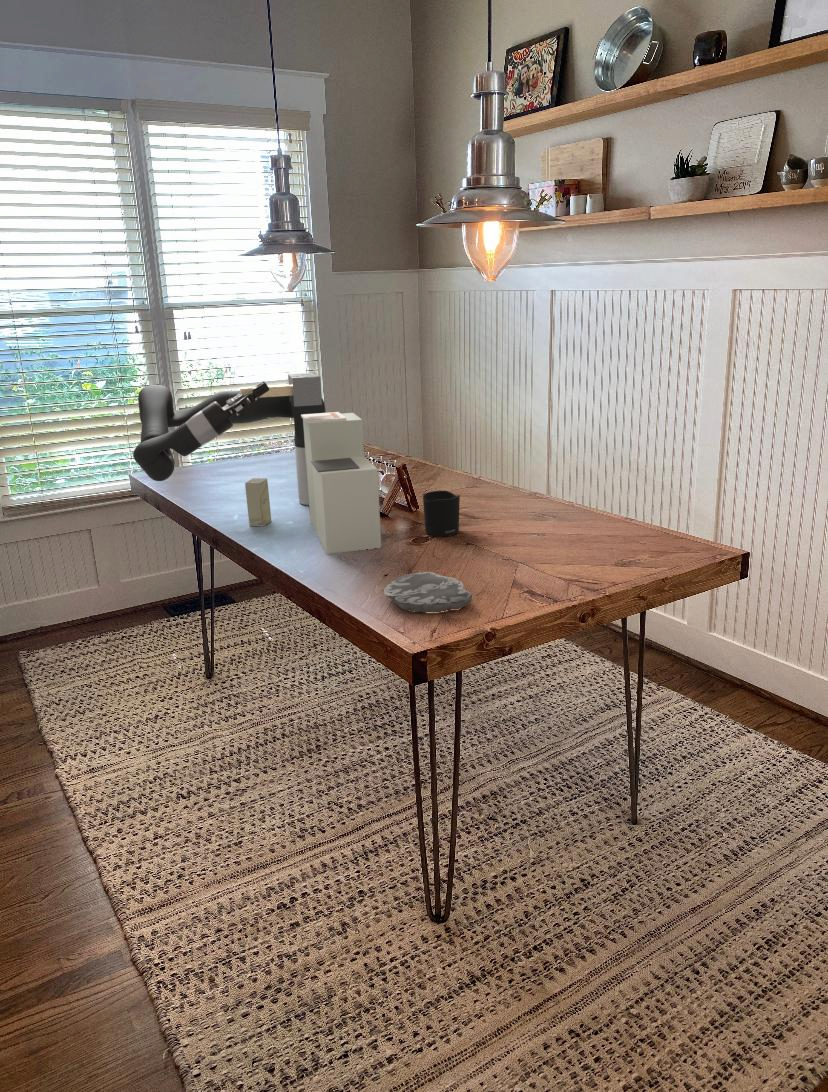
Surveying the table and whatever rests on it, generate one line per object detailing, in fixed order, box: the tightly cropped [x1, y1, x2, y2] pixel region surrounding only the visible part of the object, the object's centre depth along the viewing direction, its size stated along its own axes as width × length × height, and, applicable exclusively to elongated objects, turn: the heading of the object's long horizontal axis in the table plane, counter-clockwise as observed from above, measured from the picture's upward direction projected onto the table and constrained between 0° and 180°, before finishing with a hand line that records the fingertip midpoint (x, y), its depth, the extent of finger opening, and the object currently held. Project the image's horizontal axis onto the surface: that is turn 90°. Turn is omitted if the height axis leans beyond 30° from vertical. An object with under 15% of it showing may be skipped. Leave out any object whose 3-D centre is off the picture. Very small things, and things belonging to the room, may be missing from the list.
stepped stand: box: [301, 411, 382, 555], centre depth 217 cm, size 14×28×30 cm, turn 15°
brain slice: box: [382, 571, 473, 613], centre depth 175 cm, size 20×17×3 cm
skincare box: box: [244, 477, 272, 527], centre depth 233 cm, size 6×4×12 cm
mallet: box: [239, 372, 323, 407], centre depth 215 cm, size 20×9×7 cm, turn 105°
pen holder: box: [422, 490, 461, 537], centre depth 220 cm, size 9×9×10 cm
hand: (266, 385), depth 213 cm, fingers closed on mallet, 2 cm apart
